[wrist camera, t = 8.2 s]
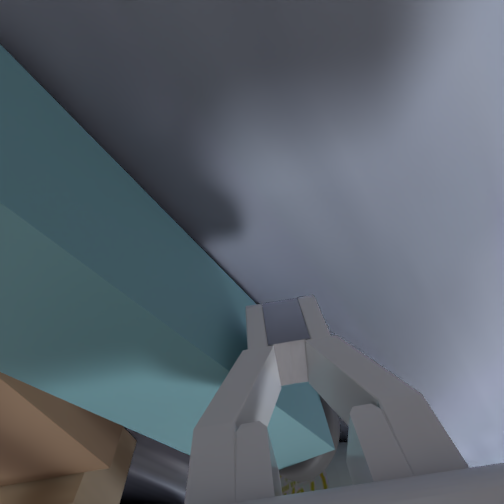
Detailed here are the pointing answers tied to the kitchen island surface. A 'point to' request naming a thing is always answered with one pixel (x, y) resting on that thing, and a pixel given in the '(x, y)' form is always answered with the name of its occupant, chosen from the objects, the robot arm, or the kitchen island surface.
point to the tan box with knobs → (58, 450)
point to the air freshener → (323, 476)
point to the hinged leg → (120, 292)
